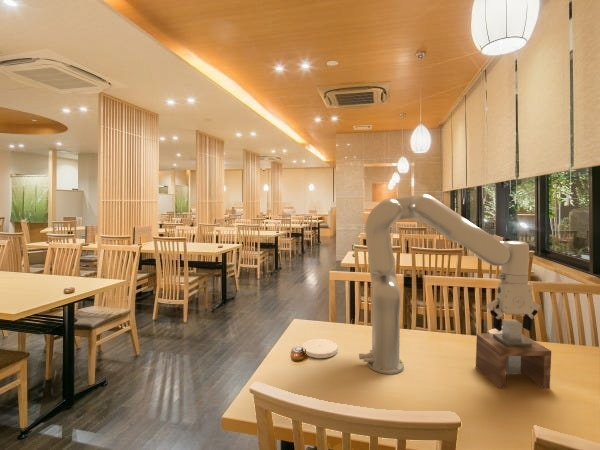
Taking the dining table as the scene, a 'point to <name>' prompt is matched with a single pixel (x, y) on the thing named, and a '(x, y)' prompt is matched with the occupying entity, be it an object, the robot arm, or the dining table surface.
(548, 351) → the slotted bridge
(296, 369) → the dining table surface
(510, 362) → the collared peg
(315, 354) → the plastic lid
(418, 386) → the dining table surface
